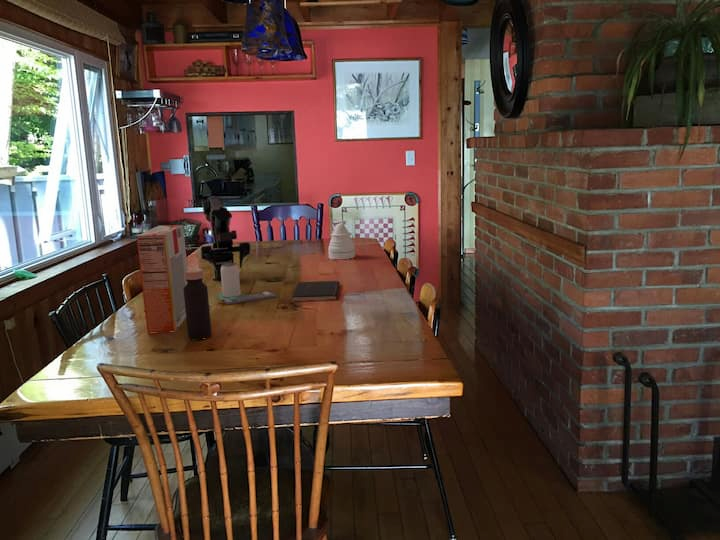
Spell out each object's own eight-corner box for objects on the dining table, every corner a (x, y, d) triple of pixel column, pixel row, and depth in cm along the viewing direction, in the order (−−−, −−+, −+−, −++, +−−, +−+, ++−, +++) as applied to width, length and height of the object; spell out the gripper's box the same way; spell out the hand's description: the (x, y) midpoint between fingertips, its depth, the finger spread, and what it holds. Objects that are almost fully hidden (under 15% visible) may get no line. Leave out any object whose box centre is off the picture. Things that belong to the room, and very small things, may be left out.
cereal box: (168, 313, 205) (158, 225, 199) (191, 311, 205) (183, 224, 199) (147, 333, 183) (136, 236, 176) (174, 332, 183) (164, 234, 177)
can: (244, 295, 224) (241, 263, 222) (229, 298, 220) (226, 266, 217) (233, 292, 229) (231, 262, 226) (219, 296, 224) (216, 264, 221)
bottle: (190, 342, 173) (183, 274, 169) (186, 335, 179) (180, 270, 175) (213, 338, 175) (207, 271, 171) (209, 332, 182) (203, 267, 177)
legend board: (227, 304, 213) (227, 300, 213) (223, 300, 218) (223, 297, 218) (276, 297, 221) (275, 293, 221) (271, 293, 226) (270, 290, 226)
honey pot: (360, 256, 296) (358, 219, 292) (345, 260, 285) (343, 223, 281) (338, 254, 303) (336, 218, 299) (323, 258, 292) (321, 222, 288)
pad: (217, 295, 227) (217, 294, 227) (241, 292, 229) (241, 292, 229) (219, 300, 218) (219, 300, 218) (244, 298, 221) (244, 297, 221)
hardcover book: (292, 302, 214) (291, 296, 214) (299, 287, 237) (298, 281, 236) (336, 301, 214) (336, 295, 213) (339, 286, 236) (339, 280, 236)
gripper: (198, 225, 228) (203, 260, 221) (247, 221, 234) (254, 255, 227) (199, 241, 238) (203, 275, 230) (246, 237, 243) (252, 270, 236)
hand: (228, 269), depth 231 cm, fingers open, 9 cm apart
